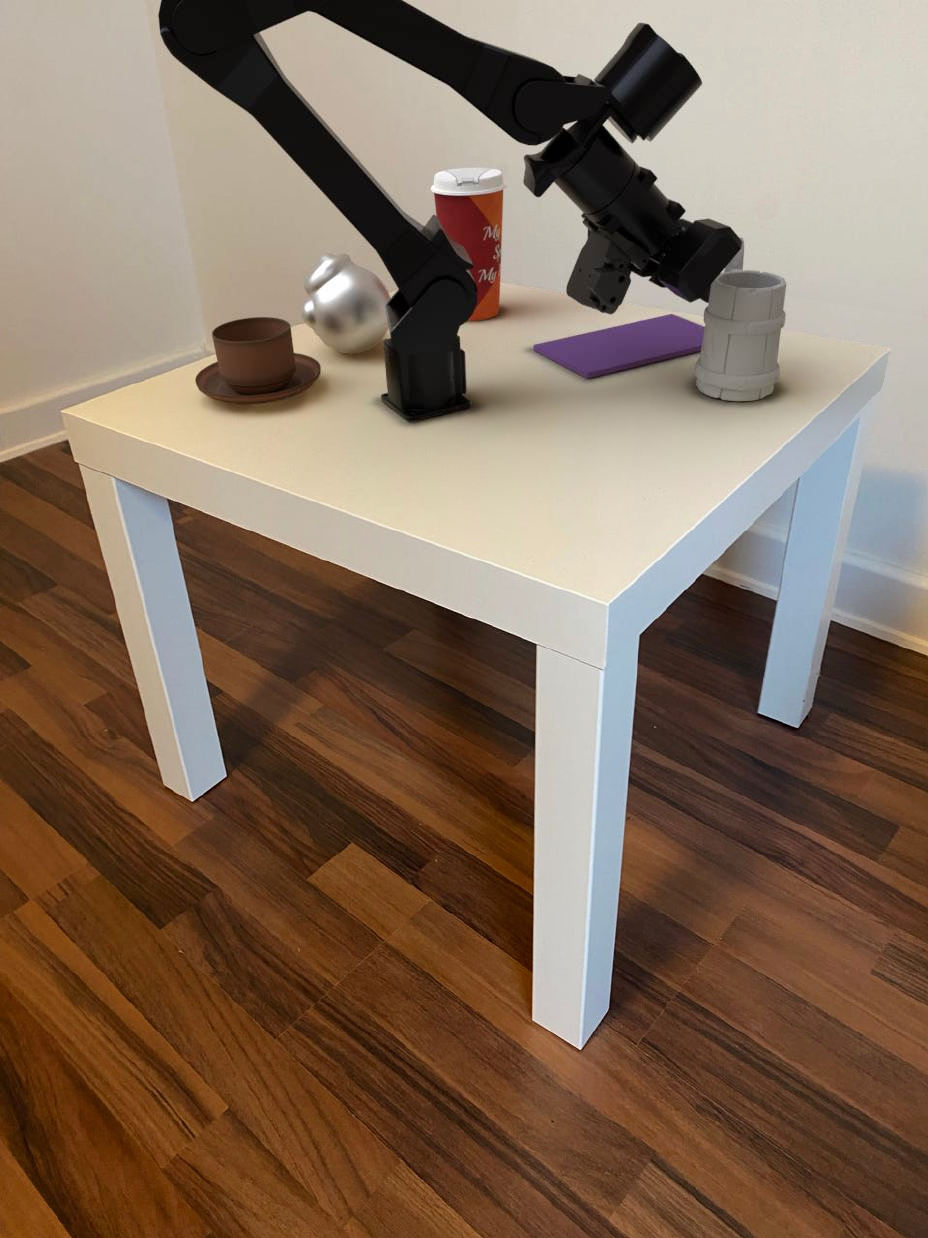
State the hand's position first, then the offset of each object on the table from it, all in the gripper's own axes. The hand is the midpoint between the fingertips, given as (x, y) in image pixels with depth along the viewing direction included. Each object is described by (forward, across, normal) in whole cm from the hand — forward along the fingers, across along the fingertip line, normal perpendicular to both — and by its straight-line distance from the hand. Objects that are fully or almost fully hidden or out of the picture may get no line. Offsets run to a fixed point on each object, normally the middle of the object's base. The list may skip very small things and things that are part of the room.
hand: (710, 298), depth 91 cm
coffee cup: (-5, -27, -15) cm, 32 cm away
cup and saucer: (-24, -13, -34) cm, 44 cm away
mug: (+6, +4, -4) cm, 8 cm away
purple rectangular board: (+3, -9, -7) cm, 12 cm away
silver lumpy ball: (-17, -21, -26) cm, 37 cm away
